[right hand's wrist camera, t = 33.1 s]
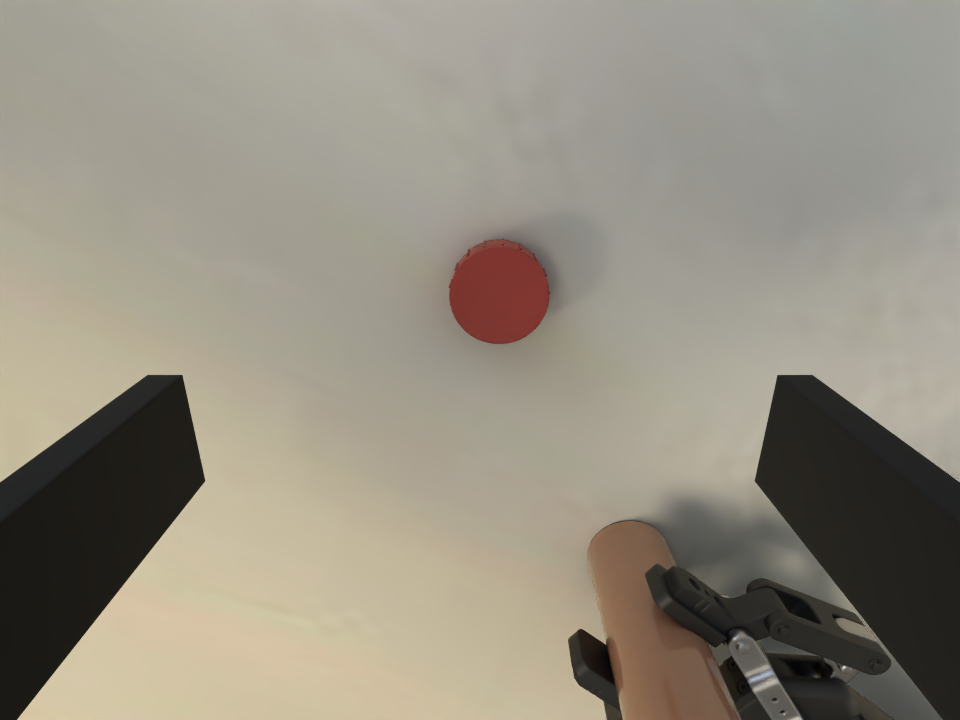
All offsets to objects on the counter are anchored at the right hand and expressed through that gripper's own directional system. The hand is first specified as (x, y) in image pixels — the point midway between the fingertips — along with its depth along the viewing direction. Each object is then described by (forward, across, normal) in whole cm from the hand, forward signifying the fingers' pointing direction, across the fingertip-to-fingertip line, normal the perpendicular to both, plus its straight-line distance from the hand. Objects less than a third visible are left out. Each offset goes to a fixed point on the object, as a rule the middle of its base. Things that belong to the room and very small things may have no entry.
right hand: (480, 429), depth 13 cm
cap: (+13, +1, 0) cm, 13 cm away
